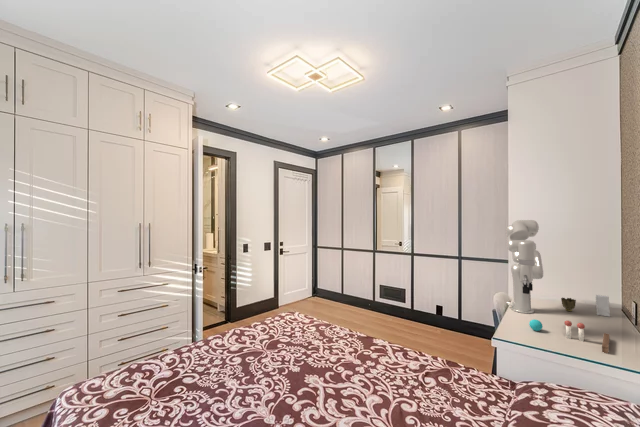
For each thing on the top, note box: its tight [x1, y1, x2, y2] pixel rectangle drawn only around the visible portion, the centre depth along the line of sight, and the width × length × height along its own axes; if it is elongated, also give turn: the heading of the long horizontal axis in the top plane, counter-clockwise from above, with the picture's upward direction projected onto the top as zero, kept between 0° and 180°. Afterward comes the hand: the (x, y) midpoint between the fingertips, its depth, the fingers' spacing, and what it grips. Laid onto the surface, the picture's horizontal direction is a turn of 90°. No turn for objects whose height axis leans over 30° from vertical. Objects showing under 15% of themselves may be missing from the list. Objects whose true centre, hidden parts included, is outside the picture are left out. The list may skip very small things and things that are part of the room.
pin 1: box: [564, 320, 573, 339], centre depth 151 cm, size 3×3×9 cm
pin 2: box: [576, 322, 586, 342], centre depth 147 cm, size 3×3×9 cm
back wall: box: [601, 332, 611, 354], centre depth 141 cm, size 2×20×3 cm, turn 133°
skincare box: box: [595, 294, 611, 317], centre depth 181 cm, size 6×4×12 cm
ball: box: [528, 318, 543, 332], centre depth 161 cm, size 6×6×6 cm
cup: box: [560, 297, 577, 313], centre depth 190 cm, size 8×7×8 cm
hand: (527, 291), depth 167 cm, fingers open, 9 cm apart
